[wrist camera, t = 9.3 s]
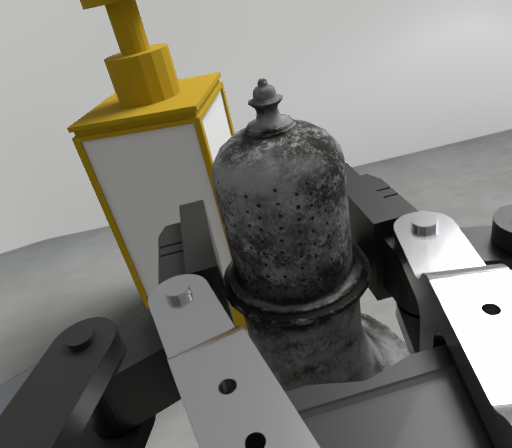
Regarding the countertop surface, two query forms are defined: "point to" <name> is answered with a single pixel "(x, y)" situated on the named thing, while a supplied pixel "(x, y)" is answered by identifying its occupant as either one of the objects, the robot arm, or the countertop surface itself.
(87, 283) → the countertop surface
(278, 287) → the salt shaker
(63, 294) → the countertop surface
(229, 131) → the soap bottle
